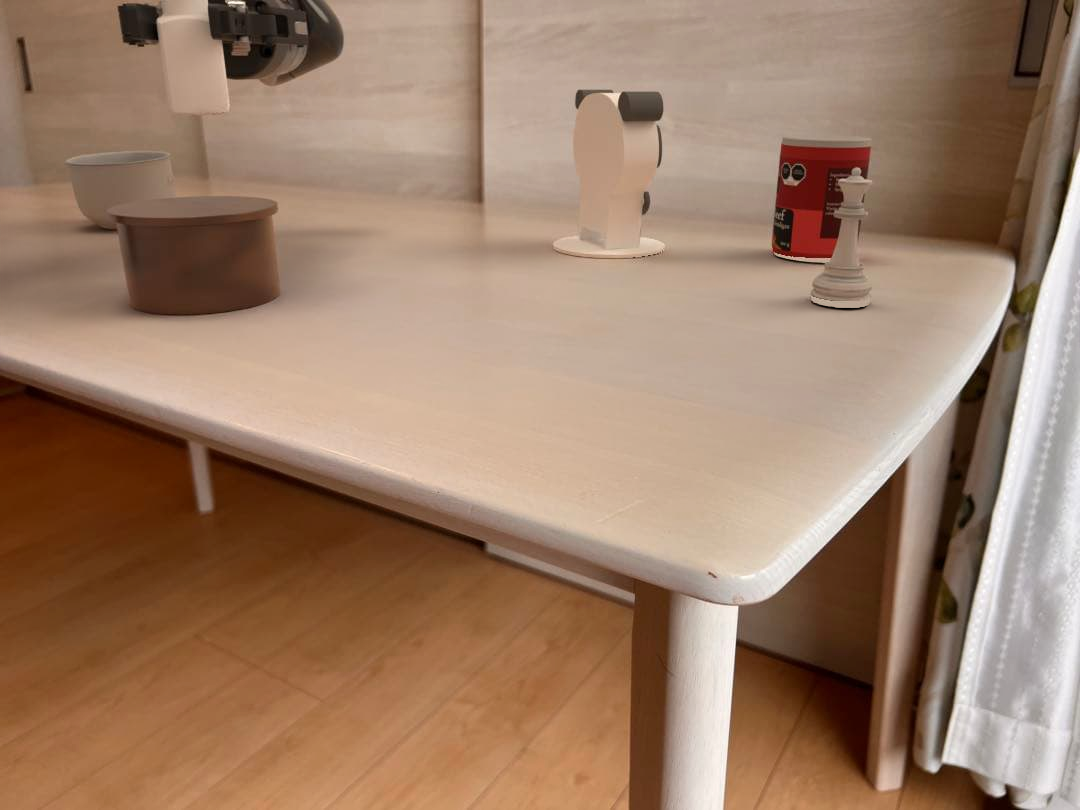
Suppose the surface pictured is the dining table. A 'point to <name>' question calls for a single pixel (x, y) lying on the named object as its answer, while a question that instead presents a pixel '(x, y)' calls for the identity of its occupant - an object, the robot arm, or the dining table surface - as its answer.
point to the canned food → (814, 191)
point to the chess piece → (846, 248)
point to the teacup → (119, 181)
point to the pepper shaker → (191, 59)
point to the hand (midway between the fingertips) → (174, 21)
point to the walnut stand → (198, 253)
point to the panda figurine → (614, 172)
